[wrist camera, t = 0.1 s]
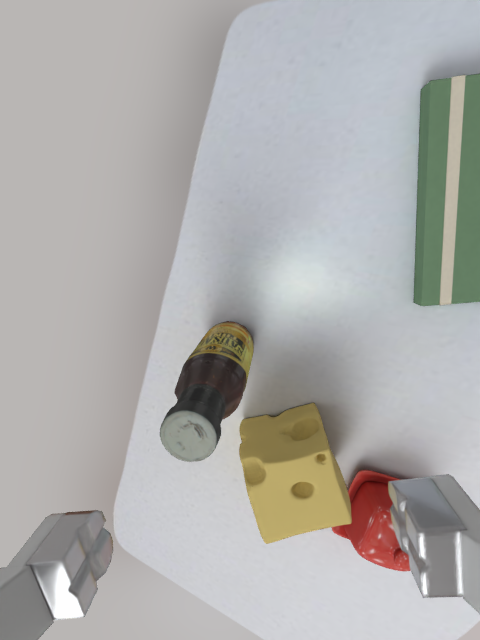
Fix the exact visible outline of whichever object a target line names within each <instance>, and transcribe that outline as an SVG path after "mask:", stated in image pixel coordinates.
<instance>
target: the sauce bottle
mask: <svg viewBox="0 0 480 640" xmlns="http://www.w3.org/2000/svg"><path fill="white" fill-rule="evenodd" d="M253 348H254V347H253V339H252V336H251V334H250V333H249V331H248V330H247V329H246V328H245V327H244V326H242V325H240V324H238V323H235V322H229V321H227V322H223V323H220V324H218V325H215V326H214V327H212V328H211V329H210V330H209V331H208V332H207V333H206V335H205V336H204V337H203V339H202V340H201V342H200V343H199V344H198V346H197V347H196V349H195V350H194V351H193V353H192V354H191V355H190V357H189V358H188V359H187V361H186V362H185V364H184V366H183V368H182V371H181V374H180V377H179V380H178V383H177V386H176V388H175V395H176V397H177V399H178V401H177V403H176V405H175V406H174V407H172V408H171V409H170V410H169V412H168V413H167V415H166V417H165V419H164V421H163V423H162V425H161V428H160V437H161V441H162V444H163V446H164V447H165V449H166V450H167V451H168V452H169V453H170V454H171V455H172V456H174V457H176V458H177V459H180V460H183V461H187V462H192V461H201V460H204V459H205V458H207V457H209V456H210V454H211V453H212V452H213V451H214V449H215V448H216V445H217V443H218V441H219V439H220V436H221V427H220V424H221V421H222V420H223V419H225V418H227V417H228V416H230V415H231V414H232V413H233V412H234V411H235V410H236V409H237V407H238V405H239V403H240V401H241V399H242V396H243V392H244V390H245V387H246V383H247V378H248V374H249V370H250V365H251V360H252V356H253Z"/></svg>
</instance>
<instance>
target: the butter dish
mask: <svg viewBox="0 0 480 640" xmlns="http://www.w3.org/2000/svg"><path fill="white" fill-rule="evenodd" d="M395 480H401V479H398V478H395V477H391V476H388V475H385V474H381V473H378V472H374V471H370V470H360V471H359V472H358V473H357V474H356V476H355V477H354V479H353V481H352V483H351V486H350V488H349V490H348V494H349V498H350V503H351V518H352V523H351V524H346V525H340V526H335V527H332V531H333V532H334V533H336V534H337V535H339V536H342V537H344V538H347V539H349V540H350V541H351V542H352V544H353V546H354V548H355V549H356V551H357V552H358V554H359V555H360V556H362V557H363V558H365V559H366V560H368V561H370V562H373V563H375V564H377V565H380V566H383V567H386V568H389V569H393V570H398V571H411V570H410V565H409V555H407V554H406V553H405V552H404V551H402V549H401V547H400V545H399V542H398V540H397V537H396V534H395V531H394V528H393V523H392V519H391V512H390V507H391V506H392V505H393V502H392V500H391V498H390V496H389V491H388V483H389V481H395Z"/></svg>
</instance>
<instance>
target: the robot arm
mask: <svg viewBox="0 0 480 640" xmlns="http://www.w3.org/2000/svg"><path fill="white" fill-rule="evenodd" d="M388 491H389V496H390V498H391V500H392V502H393V505H392V506H391V507H390V512H391V519H392V523H393V528H394V531H395V534H396V537H397V540H398V542H399V545H400V547H401V549H402V551H404V552H405V553H406V554H407V555H409V565H410V570H411V572H412V574H413V576H414V579H415V581H416V583H417V585H418V588H419V590H420V592H421V594H422V596H423V598H428V597H463V599H464V600H465V601H466V602H467V603H468V604H470V605H471V606H472V607H473V608H474V609H475V610H476V611H477V612H478V613H479V614H480V510H479V509H478V507H477V506H476V505H475V504H474V502H473V501H472V500H471V499H470V497H469V496H468V495H467V494H466V492H465V491H464V490H463V489H462V487H461V486H460V485H459V484H458V482H457V481H456V480H455V479H454V478H453V477H452V476H451V475H449V474H447V475H438V476H430V477H423V478H414V479H405V480H395V481H389V483H388ZM105 522H106V520H105V518H104V515H103V512H102V511H98V510H94V511H80V512H67V513H58V514H51V515H49V516H48V517H46V518H45V519H44V521H43V522H42V523H41V524H40V526H39V527H38V528H37V529H36V531H35V532H34V533H33V534H32V536H31V537H30V538H29V539H28V541H27V542H26V543H25V545H24V546H23V547H22V548H21V550H20V551H19V552H18V553H17V555H16V556H15V557H14V558H13V560H12V561H11V562H10V563H9V565H8V566H7V567H5V568H0V640H38V639H39V638H40V637H41V636H42V635H43V633H44V632H45V631H46V630H47V629H48V628H49V627H50V626H51V625H52V624H53V620H60V619H70V618H79V617H85V615H86V613H87V611H88V609H89V607H90V605H91V602H92V600H93V598H94V596H95V594H96V592H97V590H98V588H97V580H98V579H99V578H100V577H101V576H103V575H104V574H105V573H106V571H107V568H108V567H109V564H110V562H111V558H112V553H113V540H112V537H111V534H110V533H109V532H108V531H107V530H106V529H105V528H103V526H104V524H105Z"/></svg>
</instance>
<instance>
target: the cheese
mask: <svg viewBox="0 0 480 640" xmlns="http://www.w3.org/2000/svg"><path fill="white" fill-rule="evenodd" d="M240 436H241V440H242V443H241V444H240V449H239V454H240V460H241V463H242V466H243V471H244V477H245V483H246V488H247V492H248V496H249V499H250V502H251V505H252V508H253V511H254V515H255V518H256V522H257V525H258V528H259V531H260V534H261V536H262V538H263V540H264V542H265V543H266V544H268V543H272V542H275V541H279V540H282V539H285V538H288V537H291V536H294V535H298V534H302V533H306V532H311V531H315V530H319V529H324V528H329V527H335V526H340V525H346V524H351V523H352V518H351V503H350V498H349V494H348V491H347V487H346V484H345V481H344V478H343V476H342V473H341V470H340V468H339V466H338V463H337V461H336V459H335V457H334V455H333V453H332V451H331V449H330V447H329V443H328V439H327V436H326V433H325V430H324V427H323V423H322V420H321V416H320V413H319V411H318V409H317V407H316V405H315V403H311V404H307V405H303V406H299V407H296V408H292V409H289V410H286V411H284V412H283V413H281V414H280V415H279V416H276V417H270V416H269V415H263V416H258V417H253V418H247V419H243V420H242V422H241V424H240Z"/></svg>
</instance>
